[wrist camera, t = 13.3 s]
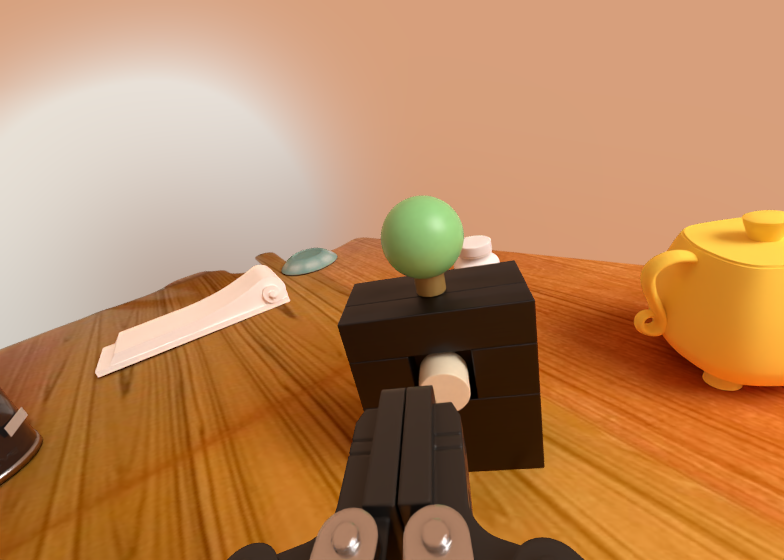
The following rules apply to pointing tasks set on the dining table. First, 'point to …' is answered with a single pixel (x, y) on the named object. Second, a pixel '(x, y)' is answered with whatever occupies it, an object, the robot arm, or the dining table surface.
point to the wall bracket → (196, 319)
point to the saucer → (308, 261)
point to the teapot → (722, 299)
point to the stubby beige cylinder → (446, 378)
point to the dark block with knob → (450, 333)
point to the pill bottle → (476, 252)
